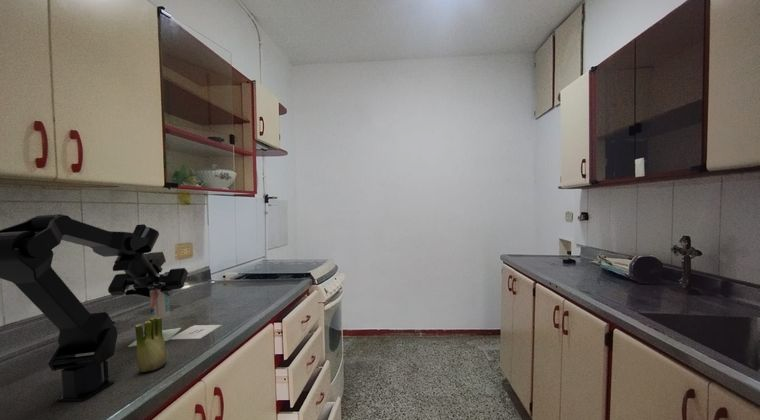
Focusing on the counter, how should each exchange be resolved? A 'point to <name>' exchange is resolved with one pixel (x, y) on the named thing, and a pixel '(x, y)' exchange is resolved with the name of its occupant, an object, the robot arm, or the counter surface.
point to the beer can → (158, 302)
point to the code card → (195, 332)
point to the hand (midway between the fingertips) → (161, 295)
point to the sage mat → (166, 335)
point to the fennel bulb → (150, 345)
